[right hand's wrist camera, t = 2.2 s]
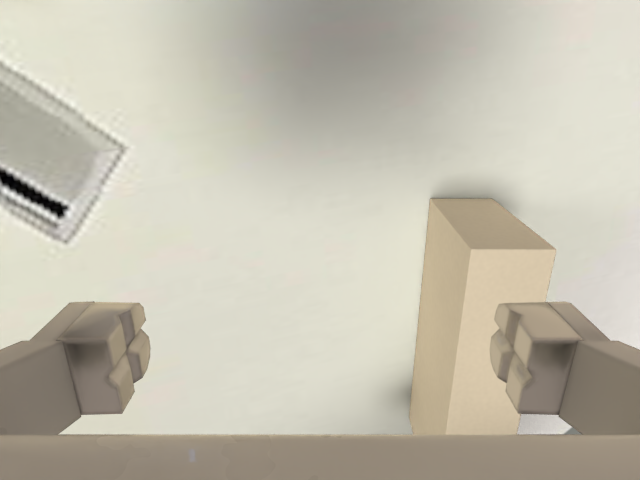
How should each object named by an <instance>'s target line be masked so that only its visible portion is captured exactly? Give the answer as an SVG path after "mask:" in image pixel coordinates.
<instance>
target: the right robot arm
mask: <svg viewBox="0 0 640 480" xmlns="http://www.w3.org/2000/svg"><path fill="white" fill-rule="evenodd" d="M145 321H146V318H145V313H144V308H143V306H142V305H141V304H140V303H120V302H72V303H69V304H68V305H67V306H66V307H65V308H64V309H62V310H61V311H60V312H59V313H58V314H57V315H56V316H55V317H54V318H53V319H52V320H51V321H50V322H49V323H48V324H47V325H46V326H44V327H43V328H42V329H41V330H40V331H39V332H38V333H37V334H36V335H35V336H34V337H33V338H32V339H31V340H30V341H20V342H18V343H16V344H13V345H11V346H8V347H6V348H4V349H1V350H0V480H640V350H639V349H636V348H634V347H632V346H629V345H627V344H624V343H622V342H620V341H610V340H609V339H608V338H607V337H606V336H605V335H604V334H603V333H602V332H601V331H600V330H599V329H598V328H597V327H596V326H595V325H594V324H592V323H591V322H590V321H589V320H588V319H587V318H586V317H585V316H584V315H583V314H582V313H581V312H580V311H579V310H578V309H577V308H576V307H574V306H573V305H572V304H571V303H568V302H529V303H501V304H499V305H498V307H497V309H496V312H495V318H494V321H495V322H496V324H497V325H498V327H499V329H498V330H497V331H496V332H495V333H494V334H493V335H492V337H491V343H490V360H491V364H492V367H493V370H494V372H495V374H496V376H497V378H499V379H500V380H502V381H503V382H505V383H507V385H506V391H505V392H506V394H507V395H508V397H509V399H510V401H511V402H512V404H513V406H514V408H515V409H516V411H517V413H518V414H549V415H559V417H560V418H561V419H563V420H564V421H565V422H567V423H568V424H569V425H571V426H572V427H573V428H574V429H576V430H577V431H578V432H580V433H581V434H577V435H575V434H572V435H571V434H570V435H567V434H552V435H58V434H59V433H60V432H62V431H63V430H64V429H66V428H67V427H68V426H70V425H71V424H72V423H74V422H75V421H76V420H78V419H79V418H80V417H81V415H91V414H122V413H123V411H124V409H125V408H126V406H127V404H128V402H129V401H130V399H131V397H132V395H133V394H134V392H135V391H134V385H133V383H135V382H137V381H138V380H140V379H141V378H143V376H144V374H145V372H146V370H147V368H148V363H149V359H150V342H149V337H148V336H147V334H146V333H145V332H144V331H143V330H142V329H141V327H142V325H143V324H144V322H145Z"/></svg>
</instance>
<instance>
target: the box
mask: <svg viewBox="0 0 640 480" xmlns="http://www.w3.org/2000/svg"><path fill="white" fill-rule="evenodd" d="M555 254H556V249H555V248H554V247H553V246H551V245H550V244H549V243H548V242H546V241H545V240H544V239H543V238H541V237H540V236H539V235H538V234H536V233H535V232H534V231H532V230H531V229H530V228H529V227H527V226H526V225H525V224H524V223H522V222H521V221H520V220H519V219H517V218H516V217H515V216H514V215H512V214H511V213H510V212H508V211H507V210H506V209H505V208H503V207H502V206H501V205H500V204H498V203H497V202H496V201H495V200H493V199H430V206H429V216H428V226H427V237H426V247H425V257H424V268H423V278H422V288H421V299H420V309H419V319H418V329H417V340H416V350H415V360H414V371H413V381H412V391H411V402H410V412H409V419H410V423H411V427H412V431H413V435H517V430H518V425H519V421H520V416H521V414H518V413H517V411H516V409H515V408H514V406H513V404H512V402H511V401H510V399H509V397H508V395H507V394H506V392H505V391H506V385H507V383H505V382H503V381H502V380H500V379H499V378H497V376H496V374H495V372H494V370H493V367H492V364H491V360H490V343H491V337H492V335H493V334H494V333H495V332H496V331H497V330H498V329H499V327H498V325H497V324H496V322H495V321H494V318H495V312H496V309H497V307H498V305H499V304H501V303H529V302H545V301H546V296H547V291H548V287H549V282H550V278H551V273H552V268H553V264H554V259H555Z"/></svg>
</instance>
